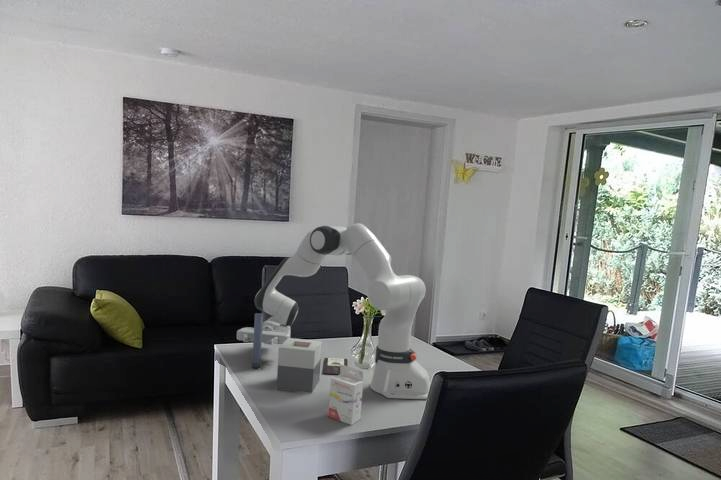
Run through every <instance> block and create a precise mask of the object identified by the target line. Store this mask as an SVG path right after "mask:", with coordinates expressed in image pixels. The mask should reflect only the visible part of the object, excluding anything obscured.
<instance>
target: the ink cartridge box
mask: <svg viewBox="0 0 721 480" xmlns="http://www.w3.org/2000/svg"><path fill="white" fill-rule="evenodd" d="M351 371H352V372H353V373H351ZM363 377H364V372H363V370H361V369H359V368H355V367H351V366H349V365H347V366H345V365H341V366H340V374H339V375H334V376H332V377H331V379H330V387H329V388H330V389H329V400H328V413H327V414H328V416H327V417H329V418H332V419H334V420H337V421H340V422H343V423H345V424H348V425H351V426H352V425H354V424H355V423H357V422H359V421H360V420H361V414H362V401H363V400H362V399H363V390H364V389H363V387H364V379H363Z"/></svg>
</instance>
